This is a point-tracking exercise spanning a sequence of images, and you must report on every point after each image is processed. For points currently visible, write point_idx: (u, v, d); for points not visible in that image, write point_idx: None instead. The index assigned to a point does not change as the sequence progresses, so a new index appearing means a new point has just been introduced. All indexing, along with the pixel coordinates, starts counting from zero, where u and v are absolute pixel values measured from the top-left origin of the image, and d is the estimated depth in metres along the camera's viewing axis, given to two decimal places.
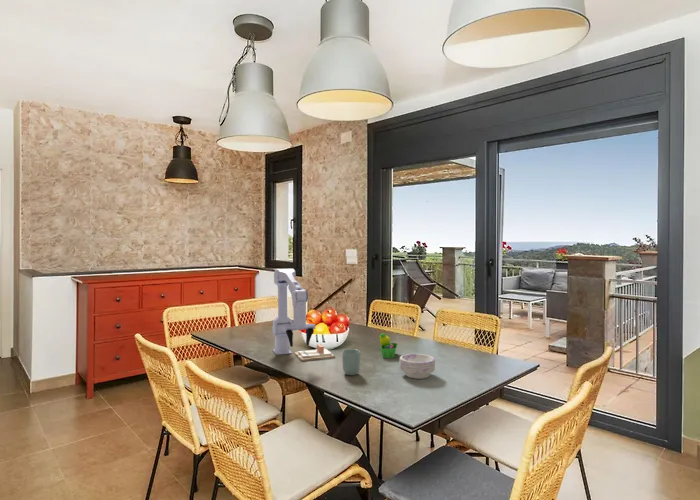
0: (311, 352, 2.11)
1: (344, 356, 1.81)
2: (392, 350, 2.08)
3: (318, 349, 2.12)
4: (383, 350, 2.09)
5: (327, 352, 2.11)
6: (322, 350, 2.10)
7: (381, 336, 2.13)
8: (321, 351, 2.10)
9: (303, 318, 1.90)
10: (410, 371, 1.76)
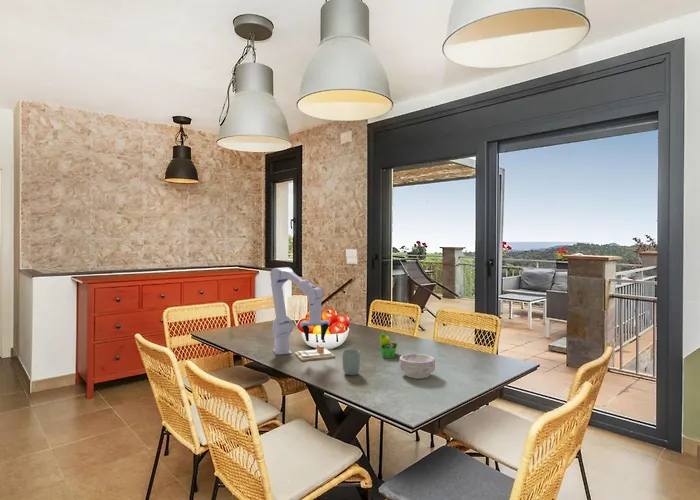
0: (311, 352, 2.11)
1: (344, 356, 1.81)
2: (392, 350, 2.08)
3: (318, 349, 2.12)
4: (383, 350, 2.09)
5: (327, 352, 2.11)
6: (322, 350, 2.10)
7: (381, 336, 2.13)
8: (321, 351, 2.10)
9: (319, 314, 2.01)
10: (410, 371, 1.76)
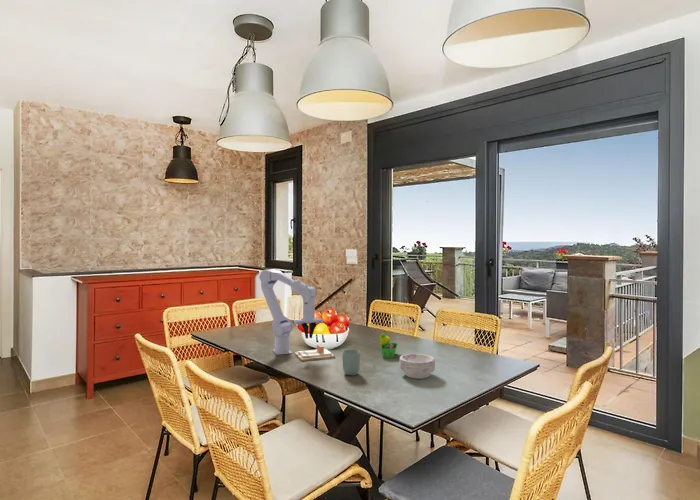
0: (311, 352, 2.11)
1: (344, 356, 1.81)
2: (392, 350, 2.08)
3: (318, 349, 2.12)
4: (383, 350, 2.09)
5: (327, 352, 2.11)
6: (322, 350, 2.10)
7: (381, 336, 2.13)
8: (321, 351, 2.10)
9: (312, 313, 2.08)
10: (410, 371, 1.76)
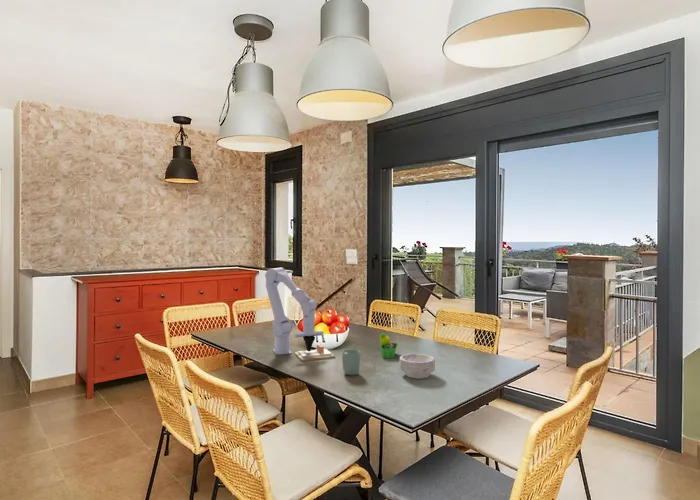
0: (311, 352, 2.11)
1: (344, 356, 1.81)
2: (392, 350, 2.08)
3: (318, 349, 2.12)
4: (383, 350, 2.09)
5: (327, 352, 2.11)
6: (322, 350, 2.10)
7: (381, 336, 2.13)
8: (321, 351, 2.10)
9: (312, 326, 2.08)
10: (410, 371, 1.76)
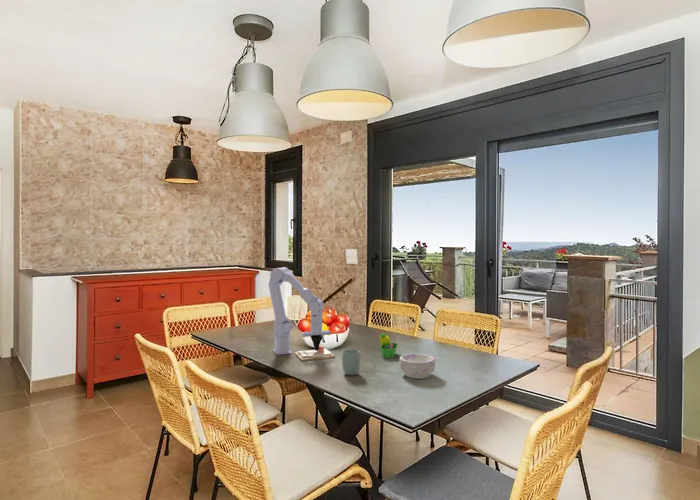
0: (311, 352, 2.11)
1: (344, 356, 1.81)
2: (392, 350, 2.08)
3: (318, 349, 2.12)
4: (383, 350, 2.09)
5: (327, 352, 2.11)
6: (322, 350, 2.10)
7: (381, 336, 2.13)
8: (321, 351, 2.10)
9: (320, 325, 2.09)
10: (410, 371, 1.76)
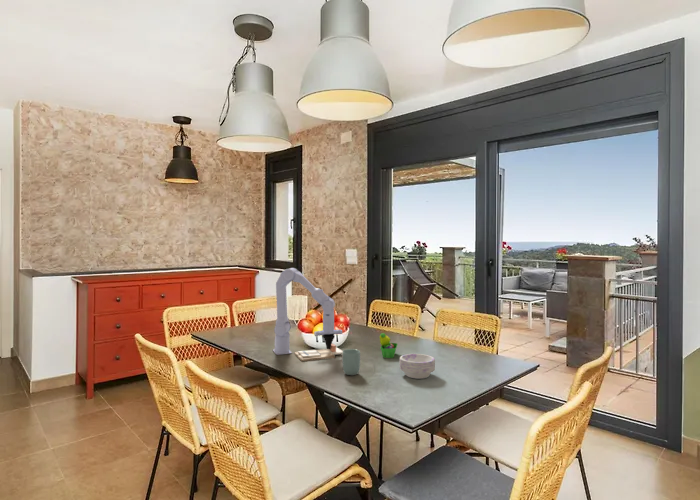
0: (311, 352, 2.11)
1: (344, 356, 1.81)
2: (392, 350, 2.08)
3: (330, 348, 2.15)
4: (383, 350, 2.09)
5: (339, 351, 2.13)
6: (334, 349, 2.13)
7: (381, 336, 2.13)
8: (334, 350, 2.13)
9: (332, 324, 2.12)
10: (410, 371, 1.76)
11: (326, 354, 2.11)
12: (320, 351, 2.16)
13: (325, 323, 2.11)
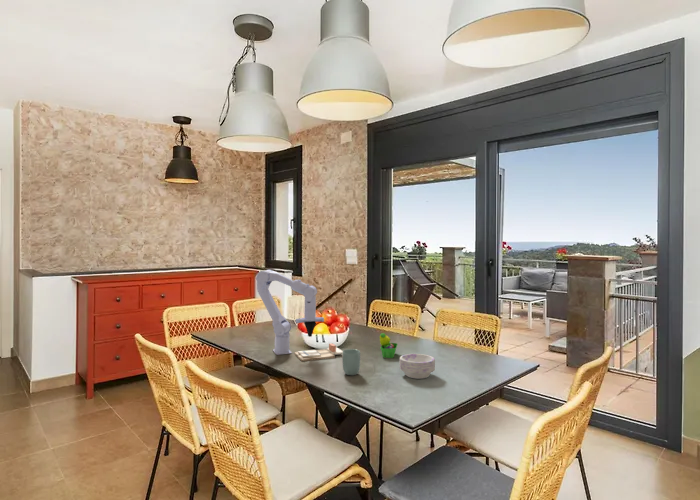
0: (311, 352, 2.11)
1: (344, 356, 1.81)
2: (392, 350, 2.08)
3: (330, 348, 2.15)
4: (383, 350, 2.09)
5: (339, 351, 2.13)
6: (334, 349, 2.13)
7: (381, 336, 2.13)
8: (334, 350, 2.13)
9: (313, 311, 2.12)
10: (410, 371, 1.76)
11: (326, 354, 2.11)
12: (320, 351, 2.16)
13: (306, 310, 2.11)
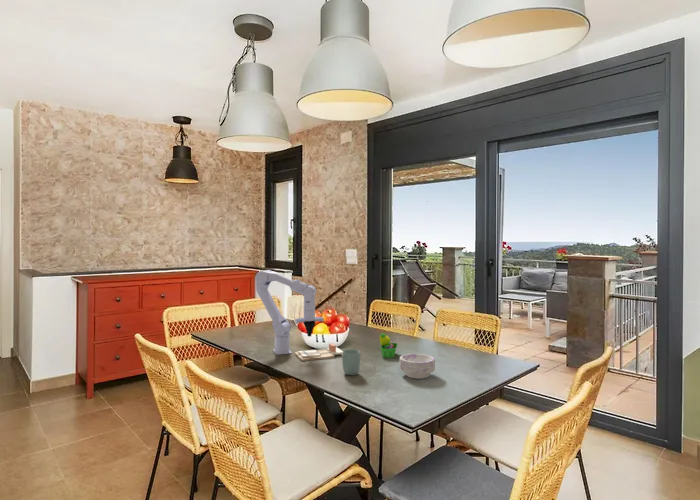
0: (311, 352, 2.11)
1: (344, 356, 1.81)
2: (392, 350, 2.08)
3: (330, 348, 2.15)
4: (383, 350, 2.09)
5: (339, 351, 2.13)
6: (334, 349, 2.13)
7: (381, 336, 2.13)
8: (334, 350, 2.13)
9: (313, 311, 2.12)
10: (410, 371, 1.76)
11: (326, 354, 2.11)
12: (320, 351, 2.16)
13: (306, 310, 2.12)
